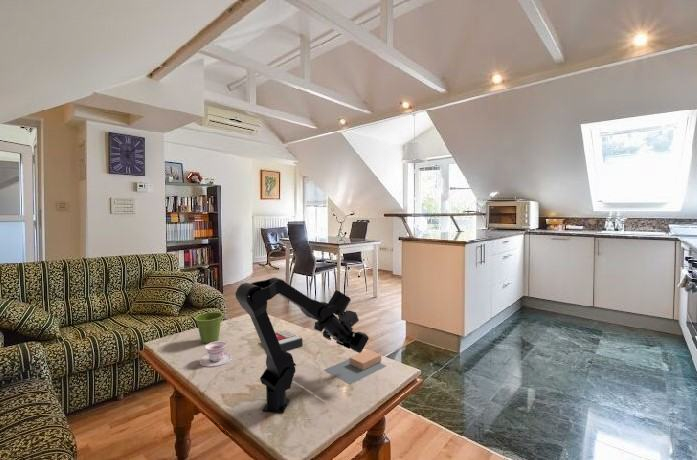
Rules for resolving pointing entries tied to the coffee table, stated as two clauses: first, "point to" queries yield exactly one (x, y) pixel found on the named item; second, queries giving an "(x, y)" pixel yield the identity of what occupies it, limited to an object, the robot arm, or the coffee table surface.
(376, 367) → the mat
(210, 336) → the plant pot
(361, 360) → the peach rectangular block
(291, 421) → the coffee table surface
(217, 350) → the teacup
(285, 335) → the red and grey box
